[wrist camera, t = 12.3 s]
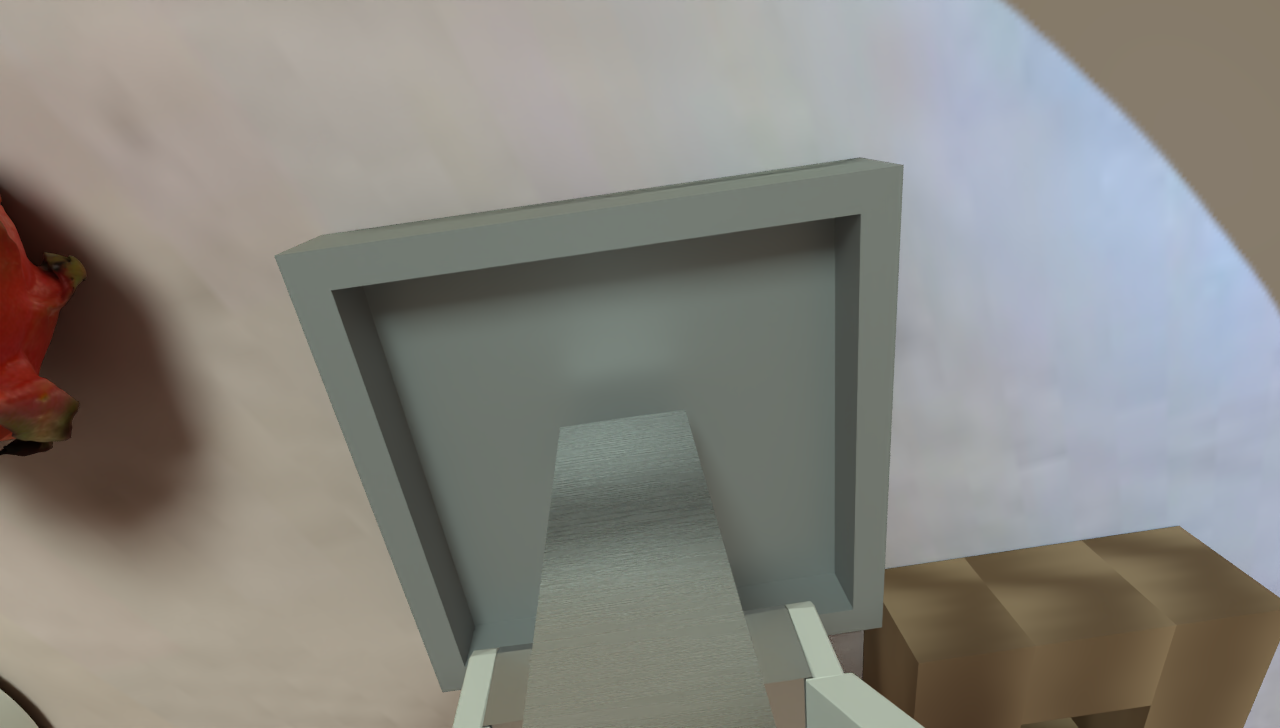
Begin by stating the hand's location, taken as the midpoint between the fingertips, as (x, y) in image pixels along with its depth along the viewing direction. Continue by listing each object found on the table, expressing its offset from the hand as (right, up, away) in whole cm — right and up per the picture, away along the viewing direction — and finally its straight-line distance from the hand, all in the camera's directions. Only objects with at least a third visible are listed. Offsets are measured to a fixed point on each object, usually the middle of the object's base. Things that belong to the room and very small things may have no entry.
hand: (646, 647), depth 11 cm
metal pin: (0, +2, +6) cm, 6 cm away
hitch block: (+15, -7, +13) cm, 21 cm away
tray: (0, +3, +8) cm, 8 cm away
